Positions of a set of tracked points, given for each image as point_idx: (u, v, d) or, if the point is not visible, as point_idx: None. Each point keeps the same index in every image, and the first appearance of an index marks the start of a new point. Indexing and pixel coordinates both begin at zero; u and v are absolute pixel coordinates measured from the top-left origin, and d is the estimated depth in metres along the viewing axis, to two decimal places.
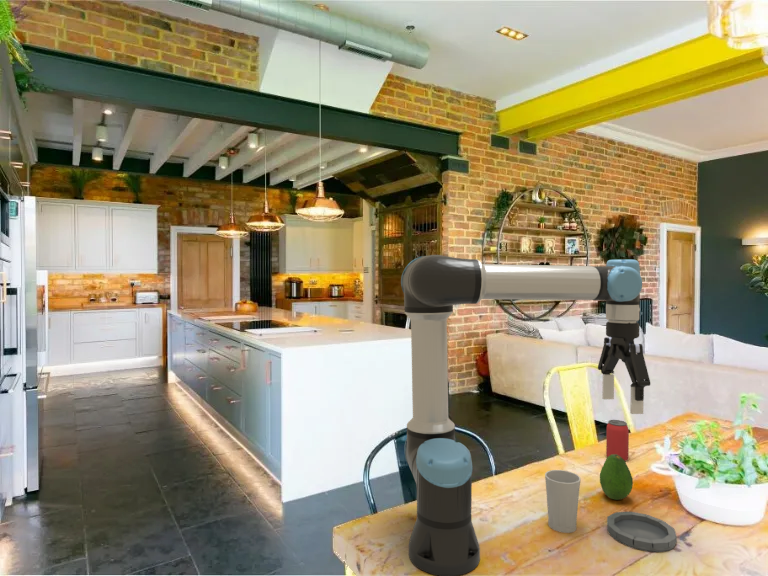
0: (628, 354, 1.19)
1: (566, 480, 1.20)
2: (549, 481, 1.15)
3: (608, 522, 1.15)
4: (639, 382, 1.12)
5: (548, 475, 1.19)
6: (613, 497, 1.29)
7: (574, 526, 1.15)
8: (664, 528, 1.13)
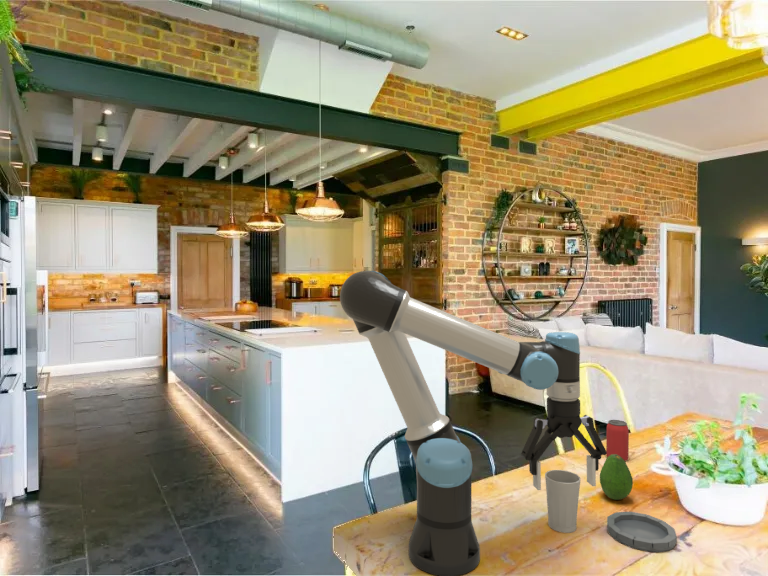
0: (551, 430, 1.16)
1: (566, 480, 1.20)
2: (549, 481, 1.15)
3: (608, 522, 1.15)
4: None
5: (548, 475, 1.19)
6: (613, 497, 1.29)
7: (574, 526, 1.15)
8: (664, 528, 1.13)
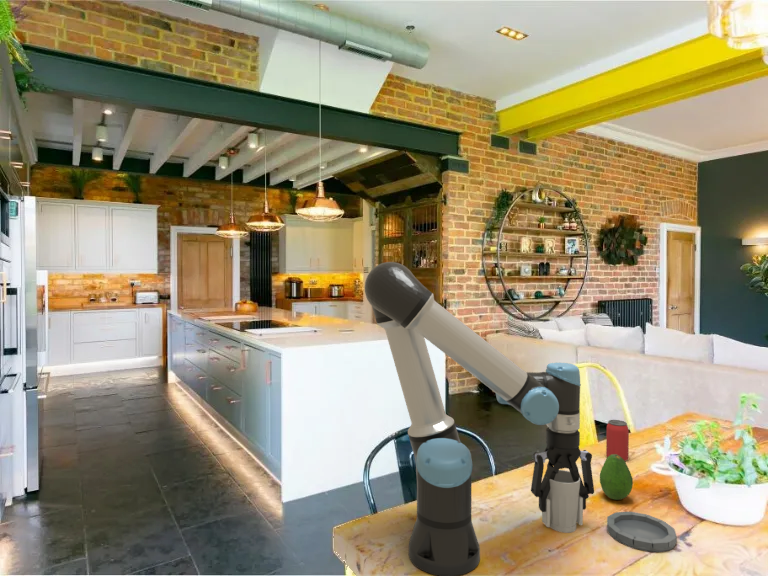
0: None
1: (566, 479, 1.20)
2: None
3: (608, 522, 1.15)
4: None
5: None
6: (613, 497, 1.29)
7: (574, 526, 1.15)
8: (664, 528, 1.13)
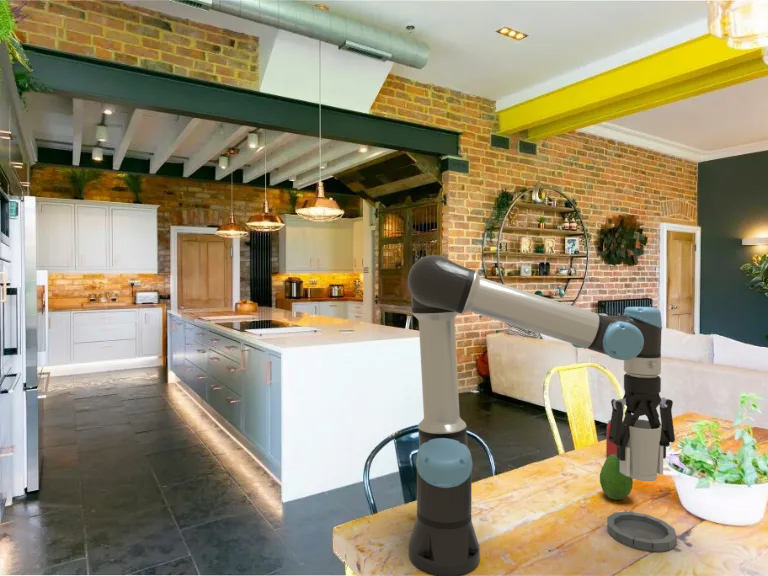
0: None
1: (644, 429, 1.15)
2: (629, 428, 1.11)
3: (608, 522, 1.15)
4: None
5: None
6: (613, 497, 1.29)
7: (655, 475, 1.10)
8: (664, 528, 1.13)
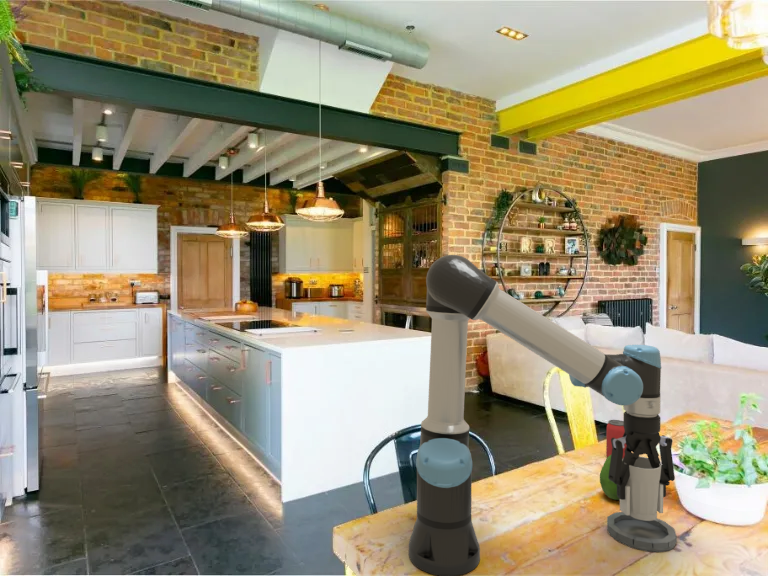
0: None
1: (644, 466, 1.15)
2: None
3: (608, 522, 1.15)
4: None
5: None
6: (613, 497, 1.29)
7: (655, 514, 1.10)
8: (664, 528, 1.13)
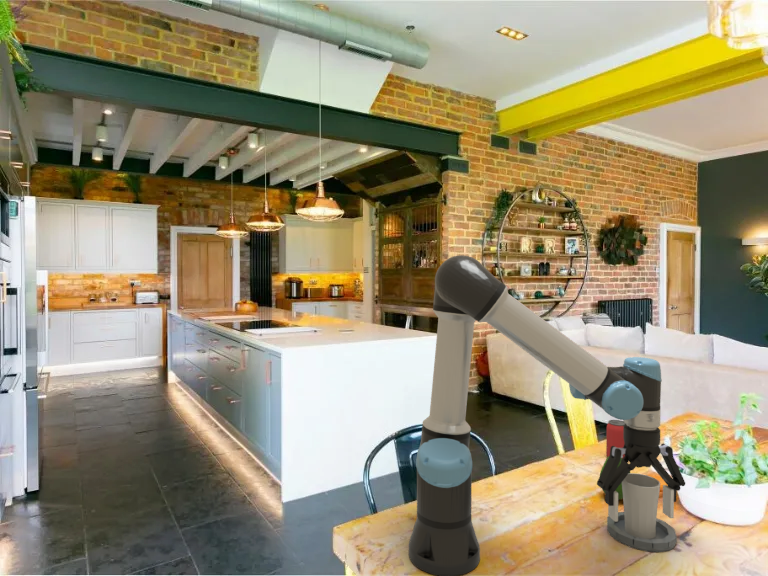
0: (629, 459, 1.12)
1: (643, 483, 1.15)
2: (627, 485, 1.11)
3: (608, 522, 1.15)
4: None
5: (624, 479, 1.15)
6: None
7: (654, 532, 1.10)
8: (664, 528, 1.13)
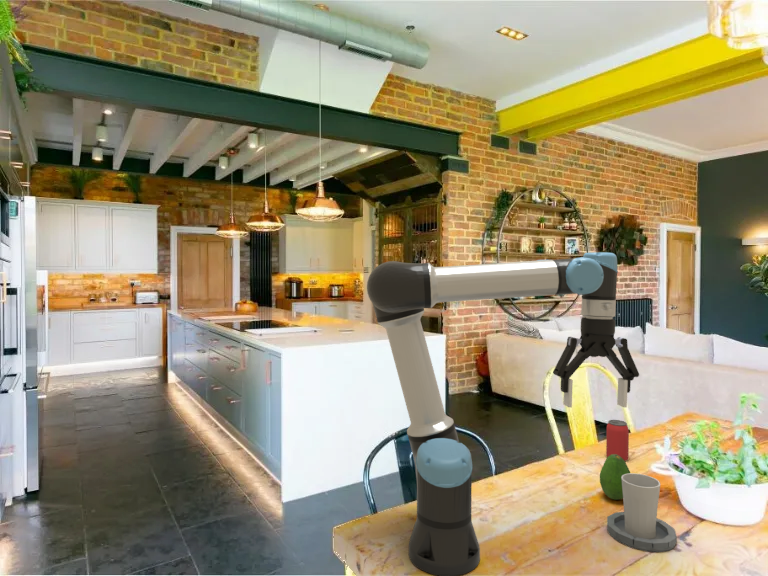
0: (584, 349, 1.16)
1: (643, 483, 1.15)
2: (628, 485, 1.11)
3: (608, 522, 1.15)
4: None
5: (624, 479, 1.15)
6: (613, 497, 1.29)
7: (654, 532, 1.10)
8: (664, 528, 1.13)
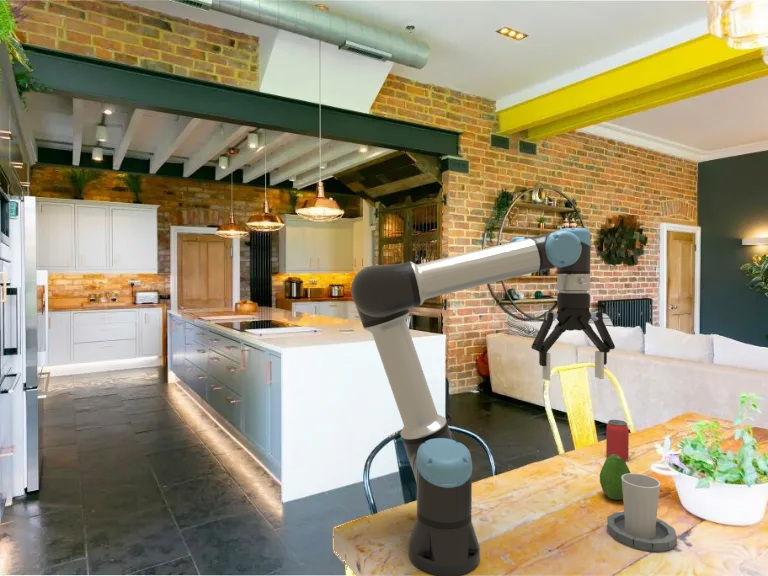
0: (561, 324, 1.19)
1: (643, 483, 1.15)
2: (628, 485, 1.11)
3: (608, 522, 1.15)
4: None
5: (624, 479, 1.15)
6: (613, 497, 1.29)
7: (654, 532, 1.10)
8: (664, 528, 1.13)
